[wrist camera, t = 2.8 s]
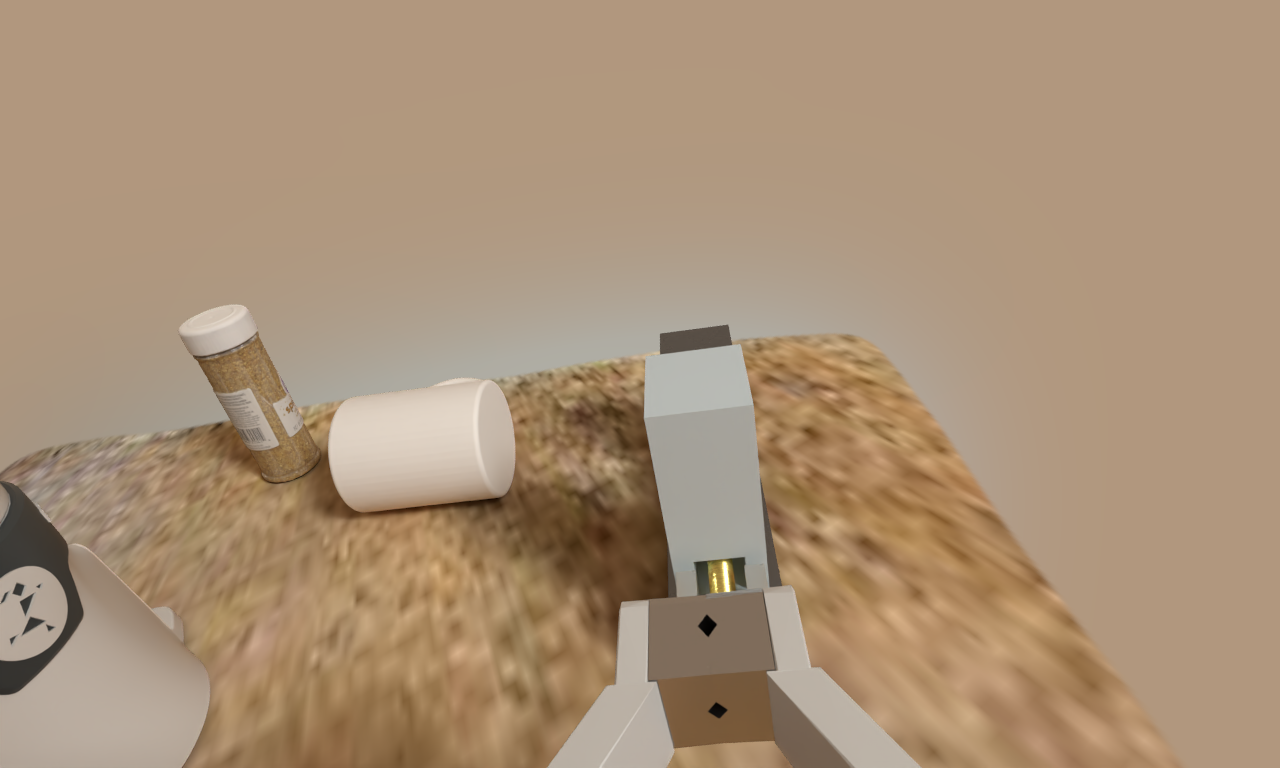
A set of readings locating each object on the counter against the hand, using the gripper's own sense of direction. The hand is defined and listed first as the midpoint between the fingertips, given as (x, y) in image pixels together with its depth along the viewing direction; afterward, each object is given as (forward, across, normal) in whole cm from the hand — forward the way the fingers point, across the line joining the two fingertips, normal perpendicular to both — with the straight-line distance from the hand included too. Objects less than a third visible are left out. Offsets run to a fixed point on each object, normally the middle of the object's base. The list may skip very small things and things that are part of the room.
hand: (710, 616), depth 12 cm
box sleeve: (+17, 0, +18) cm, 25 cm away
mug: (+31, +19, +20) cm, 42 cm away
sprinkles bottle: (+34, +33, +19) cm, 52 cm away
